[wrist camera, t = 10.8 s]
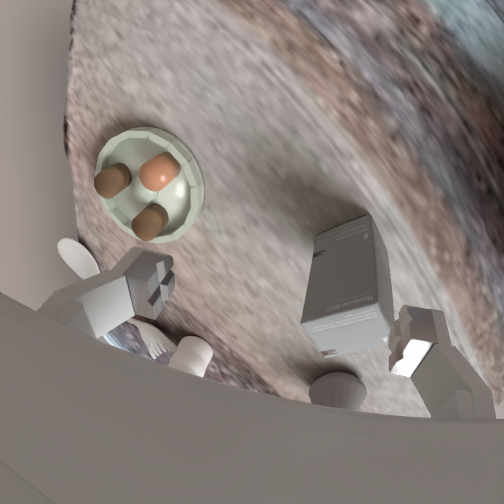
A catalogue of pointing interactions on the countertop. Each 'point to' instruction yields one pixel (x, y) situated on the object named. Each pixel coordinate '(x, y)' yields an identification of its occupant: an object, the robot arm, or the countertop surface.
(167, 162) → the loose bead
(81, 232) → the countertop surface
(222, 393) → the robot arm
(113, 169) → the seated bead
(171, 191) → the groove tray
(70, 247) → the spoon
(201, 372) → the milk bottle
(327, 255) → the skincare box
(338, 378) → the coffee pot
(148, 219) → the seated bead
